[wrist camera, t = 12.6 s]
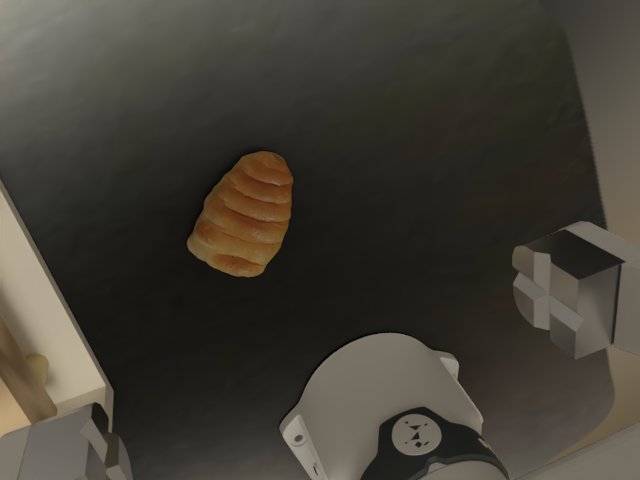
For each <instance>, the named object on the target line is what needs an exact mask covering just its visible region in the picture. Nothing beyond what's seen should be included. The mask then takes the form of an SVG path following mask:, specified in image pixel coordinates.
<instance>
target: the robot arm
mask: <svg viewBox="0 0 640 480" xmlns="http://www.w3.org/2000/svg"><path fill="white" fill-rule="evenodd" d="M512 266H513V267H514V268H515V269H516V270H517V271H518V272H519V274H518V276H517V278H516V279H515V281H514V283H513V293H514V300H515V302H516V305H517V307H518V310H519V311H520V313H521V314H522V315H523V317H524V318H525V319H526V320H527V321H528V322H529V323H530V324H532V325H533V326H534V327H538V328H542V329H545V330H549V337H550V340H551V341H552V342H553V343H555V344H556V345H557V346H558V347H560V348H561V349H562V350H563V351H564V352H566V353H567V354H568V355H569V356H571V357H572V358H573V359H574V360H576V359H578V358H581V357H584V356H586V355H589V354H591V353H594V352H596V351H599V350H601V349H604V348H606V347H609V346H611V345H614V347H615V348H618V349H621V350H624V351H627V352H630V353H633V354H635V355H638V356H640V247H638V246H637V245H634V244H632V243H630V242H628V241H626V240H624V239H622V238H620V237H618V236H616V235H614V234H612V233H610V232H608V231H606V230H604V229H602V228H600V227H598V226H596V225H594V224H592V223H590V222H582V221H580V222H577V223H575V224H572V225H570V226H567V227H565V228H562V229H560V230H558V231H557V232H554V233H552V234H549V235H546V236H544V237H541V238H538V239H536V240H533V241H530V242H528V243H525V244H522V245H520V246H517V247H515V249H514V252H513V254H512ZM458 370H459V364H458V361H457V360H456V359H455V357H454V356H453V355H452V354H450V353H447V352H441V351H434V350H431V349H429V348H428V347H427V346H425V345H424V344H423V343H421V342H420V341H418V340H417V339H415V338H413V337H410V336H407V335H404V334H398V333H381V334H375V335H370V336H367V337H363V338H361V339H358V340H356V341H353V342H351V343H349V344H347V345H345V346H344V347H342V348H340V349H339V350H337V351H336V352H335V353H333V354H332V355H331V356H330V357H328V358H327V359H326V360H325V361H324V362H323V363H322V364H321V365H320V366H319V367H318V369H317V370H316V371H315V372H314V374H313V375H312V377H311V378H310V380H309V382H308V383H307V385H306V387H305V390H304V392H303V394H302V397H301V399H300V401H299V403H298V404H297V405H296V406H295V407H294V408H293V409H292V411H291V412H290V413H289V414H288V415H287V416H286V417H285V418H284V419H283V421H282V422H281V424H280V427H279V429H280V432H281V434H282V436H283V438H284V440H285V441H286V443H287V444H288V446H289V447H290V449H291V450H292V451H293V453H294V454H295V456H296V457H297V459H298V460H299V462H300V463H301V464H302V466H303V467H304V469H305V470H306V472H307V473H308V475H309V476H310V478H311V479H312V480H509V477H508V473H507V471H506V469H505V468H504V466H503V465H502V463H501V462H500V459H499V458H498V456H497V454H496V453H495V452H494V450H493V449H492V448H491V446H490V445H488V443H486V442H485V441H484V439H483V438H482V437H481V432H482V423H483V418H482V415H481V413H480V412H479V410H478V409H477V408H476V406H475V405H474V403H473V402H472V400H471V399H470V398H469V396H468V395H467V393H466V392H465V391H464V389H463V388H462V386H461V385H460V384H459V382H458V381H457V378H458ZM108 429H109V417H108V415H107V414H106V412H105V411H104V409H103V407H102V406H101V404H99V403H97V402H94V403H91V404H88V405H85V406H82V407H79V408H76V409H74V410H71V411H68V412H65V413H62V414H59V415H56V416H53V417H51V418H48V419H45V420H42V421H39V422H36V423H35V424H31V425H28V426H25V427H23V428H20V429H17V430H14V431H12V432H9V433H6V434H4V435H3V436H2V437H1V438H0V480H132V471H131V466H130V461H129V457H128V454H127V452H126V449H125V446H124V444H123V442H122V441H121V439H120V437H119V436H118V435H115V434H113V433H110V432H108ZM298 435H299V436H298ZM515 480H640V421H639V422H637V423H635V424H633V425H631V426H629V427H627V428H624V429H622V430H620V431H618V432H616V433H614V434H611V435H609V436H607V437H605V438H603V439H601V440H599V441H597V442H594V443H592V444H590V445H588V446H586V447H584V448H582V449H579V450H577V451H575V452H573V453H571V454H569V455H567V456H565V457H562V458H560V459H558V460H556V461H554V462H552V463H550V464H547V465H545V466H543V467H541V468H539V469H537V470H534V471H532V472H530V473H528V474H526V475H524V476H522V477H520V478H517V479H515Z"/></svg>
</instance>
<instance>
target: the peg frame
mask: <svg viewBox="0 0 640 480" xmlns="http://www.w3.org/2000/svg"><path fill="white" fill-rule="evenodd" d="M0 316H1V318H2V320H3V321H4V323H5V325H6V326H7V328H8V330H9V331H10V333H11V334H12V336H13V338H14V339H15V341H16V343H17V344H18V346H19V347H20V349H21V351H22V352H23V354H24V356H25V357H26V359H27V360H28V362H29V364H30V365H31V367H32V369H33V370H34V372H35V373H36V375H37V377H38V378H39V380H40V382H41V383H42V385H43V387H44V388H45V390H46V391H47V393H48V395H49V396H50V398H51V400H52V401H53V403H54V404H55V406H56V408H57V409H58V410H57V415H59V414H62V413H65V412H68V411H71V410H74V409H76V408H79V407H82V406H85V405H88V404H91V403H94V402H97V403H99V404H101V406H102V407H103V409H104V411H105V412H106V414H107V415H108V417H109V429H108V432H110V433H112V415H113V394H114V391H113V389H112V387H111V385H110V383H109V381H108V380H107V378H106V376H105V374H104V372H103V370H102V368H101V366H100V365H99V363H98V361H97V359H96V357H95V355H94V353H93V351H92V350H91V348H90V346H89V344H88V342H87V340H86V338H85V337H84V335H83V333H82V331H81V329H80V327H79V325H78V323H77V322H76V320H75V318H74V316H73V314H72V312H71V310H70V308H69V307H68V305H67V303H66V301H65V299H64V297H63V295H62V293H61V292H60V290H59V288H58V286H57V284H56V282H55V280H54V278H53V277H52V275H51V273H50V271H49V269H48V267H47V265H46V263H45V262H44V260H43V258H42V256H41V254H40V252H39V250H38V248H37V247H36V245H35V243H34V241H33V239H32V237H31V235H30V233H29V232H28V230H27V228H26V226H25V224H24V222H23V220H22V218H21V217H20V215H19V213H18V211H17V209H16V207H15V205H14V204H13V202H12V200H11V198H10V196H9V194H8V192H7V190H6V189H5V187H4V185H3V183H2V181H1V179H0Z"/></svg>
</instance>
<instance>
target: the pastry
mask: <svg viewBox="0 0 640 480" xmlns="http://www.w3.org/2000/svg"><path fill="white" fill-rule="evenodd" d="M292 184H293V177H292V175H291V172H290V170H289V168H288V167H287V165H286V162H285V160H284V159H283V158H282V157H281V156H279V155H277V154H276V153H273V152H267V151H259V152H256V153H252V154H248V155H245V156H243V157H241V159H240V160H239V161H238V163H237V164H235V165H234V167H233V168H232V170H230V171H229V172H228V173H226V174H225V175H224V176H223V178H222V179H221V181H220V182H219V183H218V184H217V185H215V186H214V187H213V190H212V192H211V193H210V194H209V195H208V196H207V197H206V199H205V201H204V209H203V211H202V213H201V214H200V216H199V218H198V219H197V222H196V224H195V227H194V231H193V233H192V234H191V235H190V237H189V238H188V240H187V247H188V249H189V250H190V251H191V252H192V253H193V254H194V255H195V256H197V258H199V259H200V260H203V261H205V262H207V263H208V264H209V265H210V266H212V267H213V268H216V269H219V270H221V271H223V272H225V273H228V274H231V275H234V276H245V277H254V276H257V275H259V274H261V273H262V272H263V271H264V269H265V267H266V265H267V263H268V262H269V261H270V260H271V259H272V258H273V256H274V255H275V254H276V253H277V252H278V250H279V249H280V247H281V244H282V241H283V237H284V235H285V233H286V231H287V228H288V222H289V219H290V216H291V210H290V209H291V205H292V201H291V190H292Z"/></svg>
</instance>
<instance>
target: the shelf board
mask: <svg viewBox="0 0 640 480" xmlns="http://www.w3.org/2000/svg"><path fill="white" fill-rule="evenodd" d="M57 410H58V409H57V408H56V406H55V404H54V403H53V401H52V400H51V398H50V396H49V395H48V393H47V391H46V390H45V388H44V387H43V385H42V383H41V382H40V380H39V378H38V377H37V375H36V373H35V372H34V370H33V369H32V367H31V365H30V364H29V362H28V360H27V359H26V357H25V356H24V354H23V352H22V351H21V349H20V347H19V346H18V344H17V343H16V341H15V339H14V338H13V336H12V334H11V333H10V331H9V330H8V328H7V326H6V325H5V323H4V321H3V320H2V318H1V316H0V438H1V437H2V436H3V435H4V434H6V433H9V432H12V431H14V430H17V429H20V428H23V427H25V426H28V425H31V424H35V423H36V422H39V421H42V420H45V419H48V418H51V417H53V416H56V415H57Z"/></svg>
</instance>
